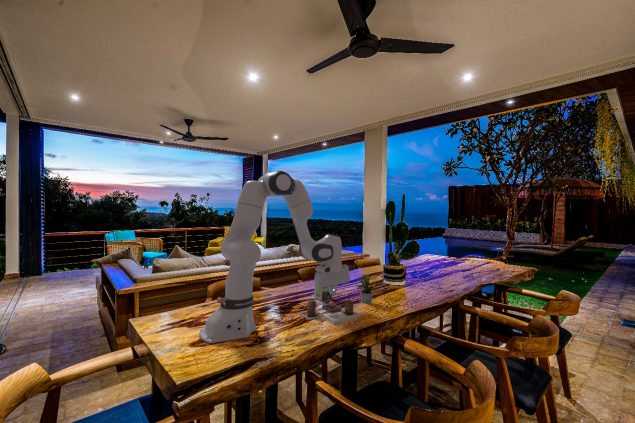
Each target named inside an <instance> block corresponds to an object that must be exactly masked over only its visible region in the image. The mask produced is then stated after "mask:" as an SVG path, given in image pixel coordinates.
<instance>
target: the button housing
mask: <svg viewBox="0 0 635 423" xmlns="http://www.w3.org/2000/svg"><path fill="white" fill-rule="evenodd" d="M321 309H322V310H323V311H326V312H327V313H329V314H333V313H334V312H335V313H337V312H338V311H339V312H341V311H342V306H340V305H338V304H334V307H333V308H330V307H329V303H327V304H324V305H323V304H322V305H321Z"/></svg>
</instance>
